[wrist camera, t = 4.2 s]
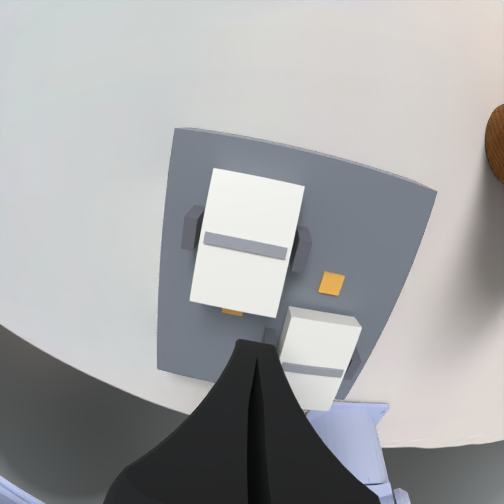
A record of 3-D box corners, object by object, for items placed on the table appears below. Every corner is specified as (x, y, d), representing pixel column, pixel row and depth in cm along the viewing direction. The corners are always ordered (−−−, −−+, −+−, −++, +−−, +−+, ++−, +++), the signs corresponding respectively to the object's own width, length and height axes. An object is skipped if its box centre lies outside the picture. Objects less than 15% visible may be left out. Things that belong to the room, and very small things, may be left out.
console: (338, 372, 23) (348, 419, 18) (164, 342, 23) (145, 387, 18) (414, 180, 17) (456, 201, 12) (185, 127, 16) (155, 128, 12)
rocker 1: (273, 307, 15) (276, 319, 14) (195, 291, 15) (188, 301, 13) (299, 188, 14) (305, 186, 13) (217, 171, 14) (213, 167, 13)
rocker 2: (324, 397, 18) (329, 412, 16) (265, 390, 18) (265, 406, 16) (354, 316, 17) (363, 328, 15) (288, 305, 17) (291, 317, 15)
